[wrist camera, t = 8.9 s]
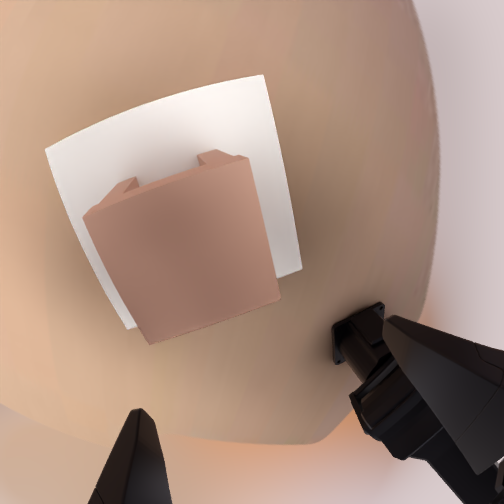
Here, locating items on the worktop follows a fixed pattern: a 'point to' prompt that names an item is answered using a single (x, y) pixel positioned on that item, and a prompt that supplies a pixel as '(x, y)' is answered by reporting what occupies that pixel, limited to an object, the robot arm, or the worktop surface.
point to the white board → (178, 160)
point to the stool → (186, 246)
